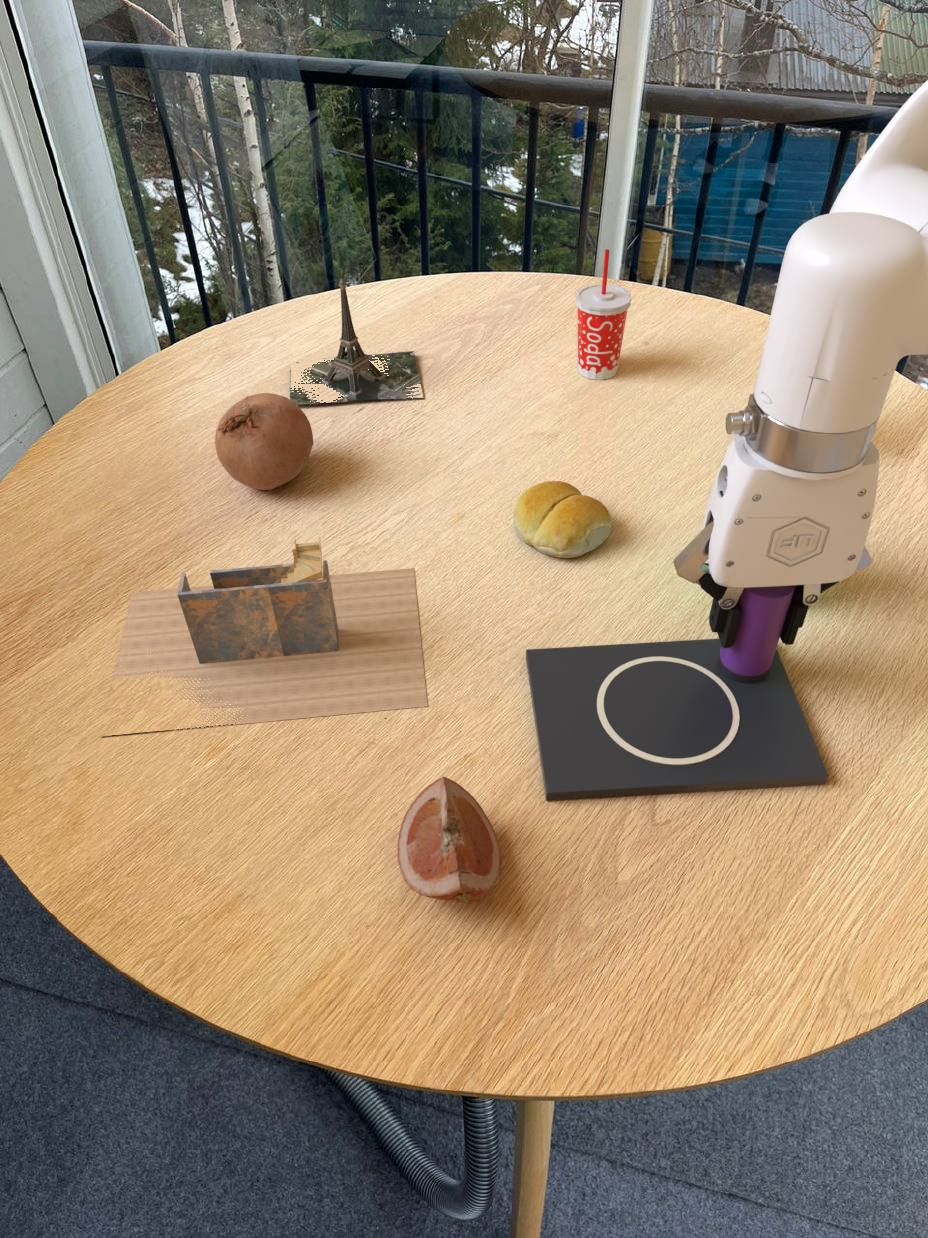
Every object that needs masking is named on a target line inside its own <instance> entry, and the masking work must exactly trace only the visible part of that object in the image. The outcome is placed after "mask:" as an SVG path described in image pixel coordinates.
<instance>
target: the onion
mask: <svg viewBox="0 0 928 1238" xmlns="http://www.w3.org/2000/svg"><path fill="white" fill-rule="evenodd" d="M312 429H313V428H312V425H311V423H310V421H309V419H308V417H307V414H306V413H304V411H303V410H302V409H301V407H300V406H298V404H295V403H294V402H293V401H291V400H290V398H288V397H286V396H284V395H281V394H277V393H271V392H260V393H256V394H255V393H254V394H252V395H246V396H245V397H244V398H242V399H240V400H238V401H237V402H236V403H234V404H233V405H232V406H230V407H229V408H228V409H227V410H226V411H225V413H224V414H222V417H221V418H220V420H219V422H218V425H217V427H216V429H215V434H214V435H215V436H214V445H215V451H216V455H217V459H218V461H219V462H220V465H221V466H222V467H223V469H224V470H225V471H226V473H228V474H229V476H230V477H232V478H233V480H235V481H236V482H238V483H239V484H242V485H243V486H246V487H249V488H252V489H255V490H260V491H266V490H267V491H268V490H274V489H275V488H278V487H281V486H283V485H285V484H287V483H288V482H290V481H291V480H293V479H294V478H295V477H297V476H298V475H299V474H300V473H301V472H302V471H303V469H305V466H306V464H307V463H308V461H309V459H310V456H311V453H312V449H313V446H314V434H313V430H312Z"/></svg>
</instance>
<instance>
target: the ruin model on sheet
mask: <svg viewBox="0 0 928 1238" xmlns="http://www.w3.org/2000/svg"><path fill="white" fill-rule="evenodd" d="M291 550H292V557H293V562H292V563H283V564H272V565H271V564H270V565H260V566H259V565H258V566H249V567H236V568H224V569H209V576H210V578H211V582H212V583H211V584H212V585H204V586H190V583H189V580H188V577H187V574H186V572H185V571H183V572H180V578H179V583H178V588H171V589H157V590H144V591H135V592H131V596H130V600H129V605H128V608H127V613H126V619H125V623H124V627H123V631H122V632H123V633H122V636H121V641H120V646H119V650H120V652H119V651H118V654H119V655H118V654H117V659H116V664H115V668H114V673H113V678H115V677H116V679H117V678H118V677H119V678H121V676H122V678H124V677H123V674H124V676H125V677H126V678H127V676H128V677H129V678H131V676H132V678H135V677H136V679H137V678H138V677H139V678H141V677H140V675H141V676H142V677H143V678H144V675H145V677H146V678H148V676H149V673H150V674H151V675H152V677H153V673H154V675H155V676H156V677H157V674H158V675H159V672H160V673H161V674H162V676H163V677H164V678H166V676H167V677H168V678H170V676H171V678H172V679H173V678H176V679H177V678H178V677H179V678H182V677H183V678H184V679H185V678H188V679H189V680H190V678H192V679H193V680H194V678H196V679H197V680H198V681H199V682H200V683H201V684H202V685H200V683H197V680H194V682H195V683H196V684H198V685H199V686H200V687H198V685H195V683H192V680H190V682H191V683H192V684H193V685H194V686H195V687H193V685H190V683H188V680H186V681H187V683H188V684H189V685H190V686H191V687H192V688H194V689H195V690H196V691H194V689H191V687H188V685H186V683H184V684H185V685H186V686H187V687H188V688H189V689H191V690H192V691H193V692H194V693H195V694H196V695H197V697H195V694H192V691H189V689H187V688H186V687H184V685H182V686H183V687H184V688H185V689H187V690H188V691H189V692H190V693H191V694H192V695H193V696H194V697H195V698H196V699H198V697H199V698H201V699H202V700H203V701H201V699H198V700H199V701H200V702H201V704H200V705H201V706H202V707H200V706H198V707H199V708H200V709H201V708H205V709H206V708H207V707H208V708H209V709H210V708H213V709H215V708H218V709H219V710H220V707H221V708H222V709H223V708H225V707H226V708H227V709H228V708H232V709H233V710H234V708H237V709H238V708H241V709H238V710H240V711H241V713H240V711H236V710H235V711H236V712H238V713H239V714H237V713H235V712H233V713H235V714H236V715H238V716H237V717H236V715H233V713H230V712H229V711H227V712H228V713H230V714H231V715H233V716H235V717H236V718H234V717H231V715H228V714H227V713H226V712H224V710H225V711H226V709H224V710H221V711H222V712H224V713H225V714H227V715H228V716H230V717H231V718H233V719H235V720H236V721H238V722H240V723H238V722H236V721H235V720H232V719H230V720H231V721H233V722H235V723H236V724H235V723H233V722H230V720H227V719H226V718H224V719H225V720H227V721H228V722H230V723H228V722H225V721H224V720H222V721H224V722H225V723H227V724H228V725H226V724H225V723H222V722H220V723H222V724H224V725H225V726H235V725H246V724H256V723H267V722H277V721H287V720H288V721H289V720H298V719H307V718H318V717H319V718H320V717H329V716H341V715H348V714H350V715H351V714H361V713H372V712H382V711H383V712H384V711H391V710H404V709H412V708H422V707H424V708H425V707H428V697H427V696H428V695H427V687H426V678H425V677H426V676H425V666H424V655H423V647H422V646H423V645H422V637H421V628H420V627H421V626H420V617H419V607H418V596H417V588H416V577H415V569H414V567H411V568H399V569H398V568H397V569H389V570H388V569H387V570H377V571H365V572H364V571H363V572H354V573H353V572H352V573H341V574H330V569H329V564H328V559H323V556H322V555H323V554H322V544H321V537H320V536H318V541H317V542H305V543H297V539H296V538H294V548H291ZM125 649H126V650H125ZM128 649H129V650H128ZM138 649H139V650H138ZM148 649H149V650H150V651H148ZM132 650H133V651H132ZM142 650H143V651H142ZM145 650H146V651H145ZM152 650H153V651H152ZM123 651H124V652H123ZM136 651H137V652H136ZM150 652H151V654H150ZM164 652H165V653H164ZM147 653H148V654H147ZM154 653H155V654H154ZM121 654H122V655H121ZM158 654H159V655H158ZM128 655H129V656H128ZM148 655H149V657H148ZM119 656H120V657H119ZM152 656H153V657H152ZM150 658H151V659H150ZM121 666H122V668H121ZM155 666H156V667H155ZM125 667H126V669H125ZM128 667H129V668H130V669H128ZM138 667H139V668H138ZM159 667H160V668H161V669H159ZM163 667H164V669H163ZM119 668H120V670H119ZM132 668H133V669H132ZM142 668H143V669H142ZM149 668H150V669H151V670H149ZM167 668H168V669H167ZM123 669H124V671H123ZM136 669H137V670H136ZM153 669H154V670H153ZM157 669H158V671H157ZM130 670H131V672H130ZM140 670H141V671H140ZM161 670H162V671H163V672H164V673H163V672H161ZM165 670H166V671H167V672H165ZM121 671H122V673H123V674H122V673H121ZM127 671H128V672H127ZM134 671H135V672H134ZM148 671H149V672H148ZM151 671H152V672H153V673H151ZM155 671H156V673H157V674H155ZM177 671H178V672H177ZM118 672H119V673H120V675H121V676H119V673H118ZM138 672H139V673H138ZM125 673H126V674H125ZM132 673H133V674H134V675H132ZM142 673H143V674H142ZM146 673H147V675H146ZM129 674H130V675H129ZM136 674H137V675H138V676H136ZM164 674H165V675H166V676H164ZM168 674H169V675H168ZM172 674H173V675H172ZM184 675H185V676H184ZM162 676H161V675H159V677H160V678H162ZM149 677H150V678H151V676H149ZM113 678H112V679H113ZM153 678H155V677H153ZM157 678H158V677H157ZM199 678H200V679H201V680H199ZM204 679H205V680H204ZM208 679H209V680H208ZM170 681H171V680H170ZM174 681H175V680H174ZM178 681H179V680H178ZM182 681H183V680H182ZM202 681H203V682H204V683H202ZM207 682H208V683H207ZM211 682H212V683H211ZM205 684H206V685H205ZM209 684H210V685H209ZM236 684H237V685H236ZM214 685H215V686H214ZM219 685H220V686H219ZM175 686H176V685H175ZM203 686H204V687H203ZM207 686H208V687H207ZM196 687H197V688H198V689H196ZM212 687H213V688H212ZM217 687H218V688H217ZM173 688H174V687H173ZM181 688H182V687H181ZM201 688H202V689H201ZM178 689H179V688H178ZM215 689H216V690H215ZM171 690H172V689H171ZM175 690H176V689H175ZM179 690H180V689H179ZM183 690H184V689H183ZM199 690H200V691H199ZM207 690H208V691H209V692H208V691H207ZM225 690H226V691H225ZM176 691H177V690H176ZM184 691H185V690H184ZM204 691H205V692H204ZM213 691H214V692H213ZM231 691H232V692H231ZM173 692H174V691H173ZM177 692H178V691H177ZM181 692H182V693H183V691H181ZM185 692H186V693H187V691H185ZM197 692H198V693H199V694H197ZM210 692H211V693H212V694H211V693H210ZM174 693H175V692H174ZM190 693H187V694H188V695H189V696H190ZM202 693H203V694H202ZM171 694H172V695H173V693H171ZM175 694H176V695H177V693H175ZM179 694H180V695H181V693H179ZM183 694H184V695H185V693H183ZM208 694H209V695H210V696H209V695H208ZM221 694H222V695H221ZM200 695H201V696H200ZM185 696H186V695H185ZM193 696H190V697H191V698H192V699H193ZM174 697H175V696H174ZM178 697H179V696H178ZM182 697H183V696H182ZM186 697H187V698H188V696H186ZM203 697H204V698H205V699H203ZM207 697H208V698H209V699H207ZM183 698H184V697H183ZM191 698H188V699H189V700H191ZM212 698H213V699H212ZM217 698H218V699H217ZM180 699H181V700H182V698H180ZM184 699H185V700H186V698H184ZM196 699H193V700H195V701H196ZM206 700H207V701H206ZM210 700H212V701H210ZM215 700H216V701H215ZM220 700H221V701H222V702H220ZM199 701H196V702H197V703H198V704H199ZM208 701H209V702H210V703H208ZM188 702H189V701H188ZM192 702H193V701H192ZM204 702H206V703H204ZM213 702H214V703H213ZM218 702H219V703H220V704H218ZM226 702H228V703H226ZM236 702H237V703H236ZM193 703H194V702H193ZM202 703H203V704H204V705H202ZM224 703H225V704H226V705H225V704H224ZM186 704H187V703H186ZM190 704H191V703H190ZM207 704H208V705H207ZM211 704H212V705H211ZM216 704H217V705H216ZM229 704H231V705H229ZM191 705H192V704H191ZM195 705H197V704H195ZM222 705H223V706H222ZM188 706H190V705H188ZM205 706H206V707H205ZM209 706H211V707H209ZM214 706H215V707H214ZM219 706H220V707H219ZM227 706H229V707H227ZM233 706H234V707H233ZM237 706H238V707H237ZM194 707H195V706H194ZM187 708H188V707H187ZM191 708H192V707H191ZM256 708H257V709H256ZM213 709H210V710H212V711H213ZM242 709H243V710H242ZM203 711H204V710H203ZM207 711H208V709H207ZM207 711H204V712H206V713H207ZM216 711H218V710H216ZM216 711H213V712H215V713H216ZM230 711H232V710H230ZM245 711H246V712H245ZM209 712H210V713H211V711H209ZM201 713H202V711H201ZM219 713H221V712H219ZM219 713H216V714H217V715H219ZM243 713H244V714H243ZM194 714H195V713H194ZM199 714H200V713H199ZM203 714H204V715H206V716H207V714H209V713H207V714H205V713H203ZM212 714H213V715H214V713H212ZM221 714H222V713H221ZM225 714H222V715H224V716H225ZM187 715H188V714H187ZM217 715H214V716H216V717H217ZM241 715H243V716H241ZM247 715H248V716H247ZM197 716H198V715H197ZM201 716H203V715H202V714H201ZM210 716H211V717H212V715H210ZM219 716H220V715H219ZM190 717H191V716H190ZM220 717H222V718H223V716H220ZM225 717H226V716H225ZM239 717H241V718H239ZM245 717H246V718H245ZM195 718H196V717H195ZM200 718H201V717H200ZM204 718H205V719H206V717H204ZM208 718H210V717H208ZM213 718H214V719H215V717H213ZM217 718H218V717H217ZM227 718H228V719H229V717H227ZM237 718H238V719H239V720H237ZM242 718H243V719H244V720H243V719H242ZM188 719H189V718H188ZM219 719H220V720H221V718H219ZM198 720H199V719H198ZM203 720H204V719H203ZM207 720H208V719H207ZM211 720H213V719H211ZM216 720H217V719H216ZM240 720H241V721H243V722H241V721H240ZM213 721H214V720H213ZM217 721H219V720H217ZM201 722H202V721H201ZM205 722H207V721H205ZM210 722H211V721H210ZM214 722H216V721H214ZM244 722H245V723H244ZM194 723H195V722H194ZM211 723H212V722H211ZM216 723H217V722H216ZM220 723H217V724H219V725H220ZM231 723H232V724H233V725H231ZM187 724H188V723H187ZM191 724H192V723H191ZM204 724H205V723H204ZM208 724H209V723H208ZM213 724H214V725H216V724H215V723H213ZM197 725H198V724H197ZM201 725H203V724H201ZM201 725H198V726H200V727H201ZM206 725H207V724H206ZM206 725H203V726H204V727H205V728H207V727H206ZM210 725H212V724H210ZM190 726H191V725H190ZM194 726H195V727H196V725H194ZM207 726H208V725H207ZM212 726H213V725H212ZM225 726H223V725H221V726H220V727H225ZM175 727H176V726H175ZM183 727H184V726H183ZM187 727H188V728H189V726H187ZM191 727H193V726H191ZM204 727H201V728H199V727H197V728H196V729H203V728H204ZM215 727H219V726H218V725H216V726H213V727H212V728H215ZM176 728H177V727H176ZM193 728H194V727H193ZM208 728H211V727H210V726H209V727H208ZM173 729H174V728H173ZM194 729H195V728H194ZM171 730H172V729H171ZM184 730H188V729H187V728H186V729H183V730H182V731H184ZM189 730H193V729H192V728H190V729H189ZM174 731H177V730H176V729H175V730H174ZM178 731H181V730H180V729H179V730H178Z"/></svg>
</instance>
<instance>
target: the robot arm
mask: <svg viewBox="0 0 928 1238" xmlns="http://www.w3.org/2000/svg"><path fill="white" fill-rule="evenodd" d="M783 254H784V255H783V258H782V261H781V267H780V271H779V275H778V280H777V283H776V284H777V285H776V290H775V294H774V297H773V303H772V307H771V312H770V316H769V321H768V325H767V329H766V334H765V340H764V343H763V348H762V353H761V357H760V360H759V361H760V362H759V367H758V370H757V374H756V379H755V383H754V387H753V388H754V389H753V393H749V397H748V401H747V405H746V406H745V408H744V409H742V410H741V409H740V410H739V411H738V412H728V413H727V414H726V417H725V431H726V434H727V435H731V436H732V435H734V436H733V439H732V440H731V442H730V444H729V445H728V448H727V450H726V453H725V455H724V456H723V458H722V462H721V464H720V466H719V469H718V471H717V474H716V475H715V476H716V477H715V479H714V482H713V485H712V488H711V491H710V495H709V498H708V500H707V504H706V507H705V512H704V516H703V520H702V524H701V529H700V532H699V533H698V534H697V535H696V536H695V537H694V538H693V539H692V540H691V541H690V542H689V543H688V544H687V545H686V546H685V547H684V548H683V549H682V550H681V551H680V552H679V553H678V554H677V555H676V556H675V557H674V559H673V566H674V568H675V569H674V570H675V572H676V574H677V576H678V577H679V578H682V579H683V580H686V581H688V582H690V583H692V584H696V585H698V586H699V587H700V588H701V590H703V591H704V593H706V594H707V595H709V596H710V597H711V598H712V602H711V606H710V611H709V615H708V625H709V627H710V631H711V632H712V633H717V637H718V639H720V642H721V645H722V648H731V646H733V644H734V640H735V636H736V633H737V629H738V625H739V621H740V617H741V608H740V605H739V603H738V600H739V598H740V596H741V594H742V592H743V590H744V588H749V587H771V586H790V585H795V589H794V593H793V596H792V599H791V602H790V606H789V609H788V612H787V616H786V619H785V622H784V625H783V629H782V632H781V635H780V638H779V639H780V640H781V643H782V644H784V645H785V646H788V645H789V646H790V645H791V646H792V645H794V644H795V642H796V641H795V640H796V638H797V634H798V631H799V629H802V628H803V626H804V623H805V620H806V617H807V615H808V611H809V607H810V606H813V605H815V604H817V603H818V602H819V601H820V599H821V594H822V593H824V592H825V591H828V590H829V589H830V588H832V587H833V586H834V585H836V584H838V583H839V582H842V581H845V580H846V579H849V578H850V577H851V576H852V575H854V573H856V572H858V571H860V570H862V569H864V568H866V567H867V568H868V566H870V565H871V564H872V561H873V560H872V558H871V555H870V553H869V551H868V549H867V547H866V542H867V538H868V535H869V531H870V527H871V522H872V518H873V514H874V509H875V503H876V498H877V490H878V484H879V483H878V482H879V472H880V451H879V449H878V448H877V446H876V445H875V444H874V443H873V442H872V440H873V438H874V435H875V432H876V428H877V425H878V423H879V420H880V416H881V414H882V411H883V408H884V404H885V403H886V402H885V401H886V400H887V399H886V398H887V396H888V393H889V390H890V387H891V383H892V380H893V378H894V375H895V372H896V369H897V366H898V363H899V362H900V360H901V359H903V358H904V357H907V356H912V355H913V356H918V355H919V356H920V355H928V79H927V80H926V81H925V82H924V83H923V84H921V85H920V87H918V88H917V90H916V91H914V92H913V93H912V94H911V96H909V97H908V99H907V100H906V101H905V102H904V103H903V104H902V105H901V107H900V108H899V109H898V110H897V112H895V114H894V116H893V117H892V118H891V119H890V121H889V122H888V123H887V124H886V126H885V127H884V129H883V130H882V131H881V132H880V133H879V135H878V137H877V138H876V139H875V141H874V142H873V143H872V145H871V146H870V147H869V149H867V151H866V153H865V154H864V155H863V157H862V158H861V160H859V162H858V163H857V165H856V166H855V168H854V169H853V171H852V172H851V174H850V175H849V177H848V178H847V180H846V181H845V183H844V185H843V186H842V187H841V189H840V191H839V192H838V194H837V196H836V199H835V200H834V202H833V204H832V206H831V208H830V210H829V213H825V214H820V215H818V216H816V217H812V218H811V219H809V220H807V221H805V222H804V223H802V224H801V225H800V226H799V227H798V228H797V229H796V231H794V233H793V234H792V235H791V237H790V239H789V240H788V242H787V244H786V247H785V251H784V253H783ZM707 561H708V562H707Z"/></svg>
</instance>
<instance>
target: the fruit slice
mask: <svg viewBox="0 0 928 1238" xmlns="http://www.w3.org/2000/svg"><path fill="white" fill-rule="evenodd" d="M413 800H414V801H412V802H411V804H410V805H409V807H408V809H407V811H406V813H405V815H404V817H403V819H402V822H401V825H400V829H399V833H398V839H397V862H398V866H399V870H400V873H401V875H402V877H403V881H404V882H405V883H406V885H407V886H408V887H409V888H410V889H411V890H412V891H413V892H415V893H416V894H418V895H420V896H424V897H427V898H430V899H435V900H439V901H440V900H442V901H450V902H453V901H458V902H465V903H467V902H469V901H471V900H477V899H482V898H484V897H486V896H487V895H489V894H490V893H491V892H492V891H493V890H494V888H495V886H496V885H497V883H498V881H499V878H500V875H501V864H502V859H501V858H502V857H501V851H500V850H501V849H500V844H499V841H498V837H497V834H496V831H495V829H494V827H493V825H492V823H491V821H490V819H489V817H488V816H487V814H486V813H485V811H484V809H483V808H482V806H481V805H480V803H479V802H478V801H477V799H476V798H475V797H474V796H473V795H472V794H471V793H470V792H469V791H468V790H466V789H465V788H464V787H463V786H461V785H460V784H459V783H458V782H456V781H454V780H453V779H450V778H449V777H446V776H442V777H439V778H438V779H436V780H435V781H434V782H432V783H430V784H429V785H427V786H426V787H425V788H424V789H423V790H422V791H421V792H419V794H418V795H417V796H416V797H415V799H413Z"/></svg>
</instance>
